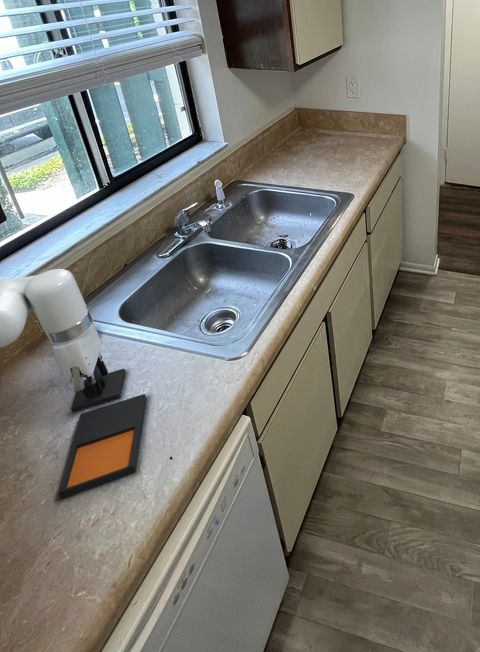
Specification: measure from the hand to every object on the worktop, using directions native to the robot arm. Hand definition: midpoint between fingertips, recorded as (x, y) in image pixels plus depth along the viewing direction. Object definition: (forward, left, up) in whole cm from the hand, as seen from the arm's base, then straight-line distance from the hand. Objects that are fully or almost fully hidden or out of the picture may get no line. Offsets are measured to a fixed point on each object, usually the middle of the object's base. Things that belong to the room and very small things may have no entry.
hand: (97, 384), depth 97 cm
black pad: (0, 0, -2) cm, 2 cm away
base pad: (+4, -14, -2) cm, 15 cm away
